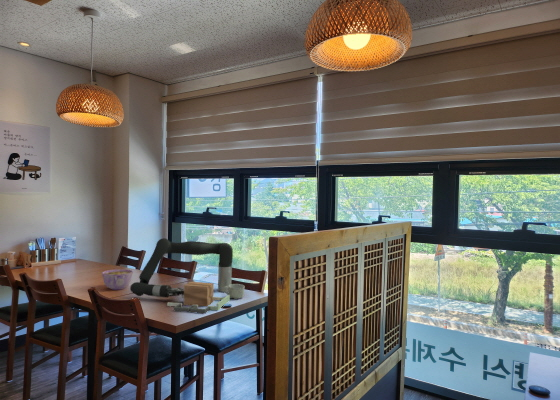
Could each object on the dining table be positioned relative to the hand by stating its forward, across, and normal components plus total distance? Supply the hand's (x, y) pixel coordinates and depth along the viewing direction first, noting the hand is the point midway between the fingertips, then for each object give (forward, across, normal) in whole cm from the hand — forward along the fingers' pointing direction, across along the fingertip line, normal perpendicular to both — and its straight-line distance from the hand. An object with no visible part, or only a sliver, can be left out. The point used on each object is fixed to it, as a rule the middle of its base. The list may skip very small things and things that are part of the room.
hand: (187, 292), depth 238 cm
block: (+8, 0, +6) cm, 10 cm away
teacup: (+24, +19, +6) cm, 31 cm away
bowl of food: (-61, +19, +6) cm, 64 cm away
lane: (+8, -4, +6) cm, 11 cm away
